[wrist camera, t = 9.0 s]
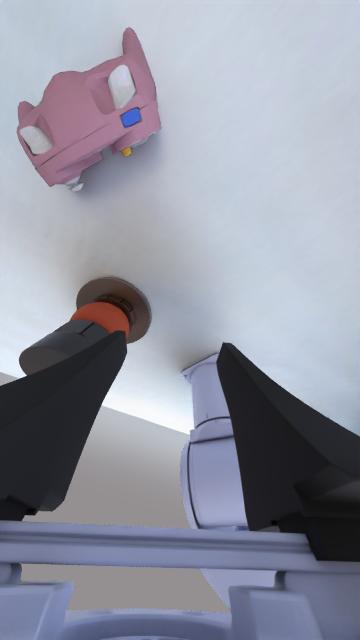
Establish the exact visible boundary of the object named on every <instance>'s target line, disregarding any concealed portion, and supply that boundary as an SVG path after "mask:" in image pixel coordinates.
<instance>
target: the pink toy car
mask: <svg viewBox="0 0 360 640" xmlns="http://www.w3.org/2000/svg"><path fill="white" fill-rule="evenodd" d="M122 45H123V56H120V57H117V58H114V59H111V60H108V61H105V62H103V63H102V64H100V65H98V66H96V67H94V68H92V69H91V70H88V71H85V72H76V71H66V72H60V73H58V74H56V75H54V76H53V78H52V79H51V81H50V82H49V84H48V86H47V87H46V89H45V91H44V94H43V98H42V101H41V102H40V104H39V105H38V106H37V107H34V106H33V105H31V104H30V103H28V102H26V101H23V102H20V103H19V106H18V118H19V126H18V127H17V135H18V138H19V141H20V143H21V145H22V147H23V149H24V151H25V153H26V154H27V156H28V157H29V159H30V161H31V162H32V164H33V165H34V166H35V169H36V171H37V172H38V173H39V174H40V176H41V177H42V178H43V179H44V180H45V182H46V183H47V184H48V185H49V187H51V186H53V185H55V184H65V185H70V186H73V187H72V188H71V189H70V191H75V192H77V191H79V190H80V189H82V187H83V182H82V183H80V184H78V181H79V178H80V175H81V173H82V171H83V170H84V169H86V168H88V167H90V166H91V165H93V164H95V163H97V162H99V161H101V160H102V159H103V157H102V155H101V153H100V151H101V150H102V149H104V148H106V147H107V146H110V148H111V150H112V153H113V154H115V153H117V152H119V151H122V153H123V156H128V155H129V154H130V153H131V149H130V147H132V148H135V147H137V146H139V145H141V144H143V143H145V142H146V141H148V139H149V137H150V135H152V134H154V133H156V132H157V130H159V129H161V124H160V119H159V114H158V106H157V95H156V87H155V83H154V80H153V77H152V74H151V72H150V69H149V66H148V63H147V60H146V58H145V55H144V52H143V49H142V47H141V44H140V42H139V40H138V37H137V35H136V33H135V32H134V30H133V29H131V28H130V27H129V28H126V30H125V31H124V33H123V42H122Z"/></svg>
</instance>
